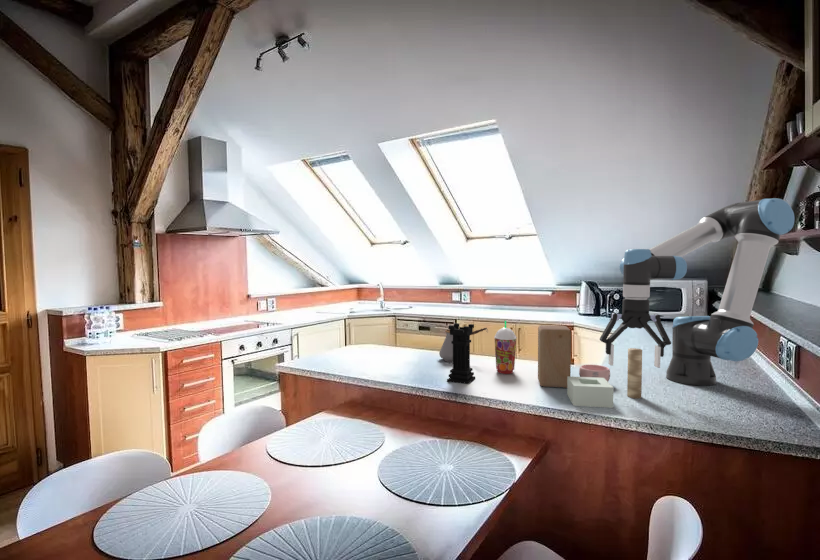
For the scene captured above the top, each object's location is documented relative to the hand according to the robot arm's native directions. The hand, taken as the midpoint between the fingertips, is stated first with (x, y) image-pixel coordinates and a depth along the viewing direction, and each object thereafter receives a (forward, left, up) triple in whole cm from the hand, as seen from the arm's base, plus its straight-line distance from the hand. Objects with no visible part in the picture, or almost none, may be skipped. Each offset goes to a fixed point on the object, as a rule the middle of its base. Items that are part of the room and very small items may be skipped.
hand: (633, 365), depth 141 cm
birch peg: (0, 0, -10) cm, 10 cm away
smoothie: (+39, -25, -10) cm, 47 cm away
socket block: (+15, +7, -10) cm, 19 cm away
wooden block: (+23, -11, -10) cm, 27 cm away
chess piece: (+55, -11, -10) cm, 57 cm away
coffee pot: (+56, -42, -10) cm, 71 cm away
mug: (+9, -14, -10) cm, 19 cm away
